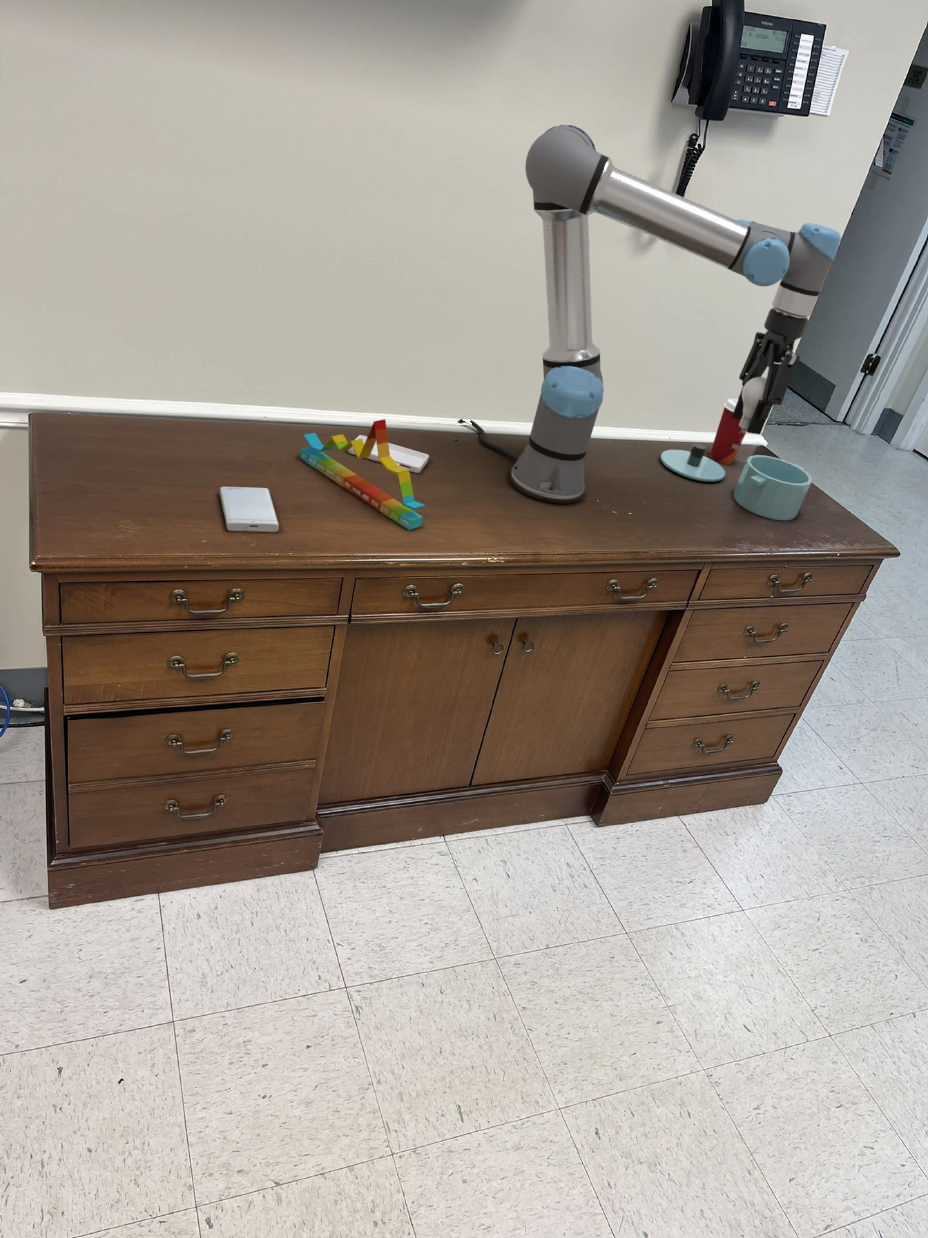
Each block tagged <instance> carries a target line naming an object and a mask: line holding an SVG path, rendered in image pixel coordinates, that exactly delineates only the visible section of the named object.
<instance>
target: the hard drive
mask: <svg viewBox="0 0 928 1238" xmlns="http://www.w3.org/2000/svg"><path fill="white" fill-rule="evenodd" d="M219 497H220V500H221V506H222V511H223V515H224V519H225V525H226V530H227V531H230V532H264V533H265V532H266V533H276V532H277V533H278V532H279V527H280V524H279V521H278V517H277V514H276V511H275V508H274V507H275V506H274V504H273V500H272V496H271V493H270V490H269V488H267V487H250V486H249V487H247V486H246V487H244V486H221V487H219Z"/></svg>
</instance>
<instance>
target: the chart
mask: <svg viewBox="0 0 928 1238" xmlns="http://www.w3.org/2000/svg"><path fill="white" fill-rule="evenodd" d="M303 438H304V440H305V441H306V443H307V444H308V446H309V447H305V448H300V455H299V459H300V460H302V461H303V462H304V463H306V464H308V465H309V466H311V467H313V468H314V469H315V470H317V471H318V472H320V473H321V474H323V475H324V476H326V477H327V478H329V479H330V480H332V481H334V482H335V483H336V484H337V485H339V486H341V487H342V488H344V489H346V490H347V491H348V492H350V493H351V494H353V495H355V496H356V497H357V498H359V499H360V500H362V501H363V502H365V503H367V504H368V505H369V506H371V507H373V508H374V509H376V510H377V511H379V512H380V513H382V514H383V515H385V516H386V517H387V518H390V519H391V520H392V521H394V522H396V523H397V524H399V525H400V526H402V527H404V528H405V529H406V530H408V531H411V530H413V529H418V528H420V527H422V522H423V516H421V515H420V514H419V513H418V512H416V511H415V510H419V509H422V508H425V507H426V505H425V504H424V503H421V502H419V501H416V500H415V496H414V493H413V492H414V490H413V484H412V481H411V473H410V471H409V470H408V469H405V468H403V467H404V466H402V467H400V466H401V465H399V466H398V465H397V463H396V462H395V461H394V460H393V459H392V457H391V456H390V452H389V444H388V443H389V437H388V431H387V422H386V419H379V420H374V421H373V423H372V425H371V427H370V429H369V432H368V435H367V439H366V441H365V444H364V442H363V440H362V439H357V440H355V439H353V440H349V441H348V440H347V439H346V437H345V435H344V434H343V433H341V434H336V435H332V436H331V437H329V439H328V440H327V441H326V443H325V444H323V443H322V442H321V440H320V438H319V437H318V435H317V434H316V432H311V433H307V434H304V435H303ZM375 442H377V450H378V457H379V461H380V462H379V463H380V464H381V465H382V466H383V467H384V468H385V469H386V471H388V472H390V473H393V474H396V475H397V477H398V483H399V489H400V495H401V500H402V501H401V502H400V501H398V500H397V499H395V498H393V497H392V496H390V495H389V494H387V493H386V492H384V491H383V490H381V489H379V488H378V487H376V486H375V485H373V484H372V483H370V482H369V481H367V480H366V479H364V478H363V477H361V476H359V475H358V474H357V473H355V472H354V471H352V470H350V469H349V468H347V467H346V466H345V465H342V464H341V463H339V462H338V461H336V460H334V459H333V458H332V457H330V456H328V455H327V454H325V453H324V452H326V451H330V450H332V449H333V448H334V447H335V446H336V448H337V450H338V451H339V452H341V451H348V449H351V448H352V447H353V449H354V451H355V453H356V455H355V456H356V458H357V460H362V459H368V458H367V457H369V456H370V454H371V452H372V449H373V447H374V445H375Z"/></svg>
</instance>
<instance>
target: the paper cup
mask: <svg viewBox="0 0 928 1238" xmlns="http://www.w3.org/2000/svg"><path fill="white" fill-rule="evenodd" d="M737 402H738V398H728V399H727V400H726V402H724V404H723V407H724V408H723V411H722V414H721V418H720V421H719V424H718V427H717V430H716V433H715V437H714V440H713V443H712V446H711V449H710V453H709V457H710V459H711V460H713V461H715V462H716V463H720V464H726V465H729V464H732V463H733V461H734V460H735V458H736V455H737V453H738V451H739V449H740V447H741V445H742V443H743V440H744V438H745V436H746V434H747V433H748V432H747V430H742V428H741V427H740V426H739V424H740V421H741V420H740V419H733V418H732V415H733V412H734V410H735V407H736V404H737Z"/></svg>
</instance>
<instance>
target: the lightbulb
mask: <svg viewBox="0 0 928 1238" xmlns="http://www.w3.org/2000/svg"><path fill="white" fill-rule="evenodd" d="M766 379H767V377H765V376H761V377H755V378H752V379H750V380H749V381H748V382H747V383H746V384H745V385H744V387H743V386H742V387H743V390H742V389H741V390H742V400H743V405H744V406H743V415H742V418H741V421H740V424H739V426H740V427H741V428H742V430H747V429H748V427H749V424H750V422H751V419H752V417H753V414H754V412H755V409H756V407H757V404H758V402H759V399H760V400H762V399H763V394H764V389H765V384H766Z"/></svg>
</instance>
